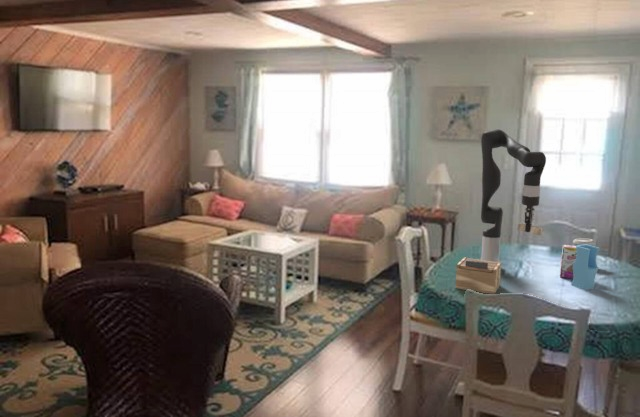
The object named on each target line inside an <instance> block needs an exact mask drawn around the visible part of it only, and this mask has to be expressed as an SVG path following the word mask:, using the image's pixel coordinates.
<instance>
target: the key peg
mask: <svg viewBox="0 0 640 417" xmlns="http://www.w3.org/2000/svg"><path fill="white" fill-rule="evenodd" d="M525 226H526V224H525V223H523V222H519V223H518V226H517V230H518V231H521V232H523V233H529V234H533V235H536V236H540V237H541V235H542V234H543V229H544V228H542V227H539V226H535V225H532V226H531V228H530V232H526V231H525Z"/></svg>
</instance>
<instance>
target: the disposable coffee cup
mask: <svg viewBox="0 0 640 417" xmlns="http://www.w3.org/2000/svg"><path fill="white" fill-rule="evenodd" d="M583 244H586V245H591V246H595V243H594V239H592V238H574V239H573V240H572V246H577V245H583Z"/></svg>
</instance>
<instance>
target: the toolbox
mask: <svg viewBox="0 0 640 417" xmlns="http://www.w3.org/2000/svg"><path fill="white" fill-rule="evenodd" d="M467 258H468V257H465V256H463V257H462V259H461V260H460V261H458V263H457V264H456V272H455V273H456V275H455V289H458V290H465V291H468V290H467V289H471V290H474V291H473V292H476V291H477V293H484V294H491V295H495V294H496V293H497V291H498V290H499V288H500V286H501V276H502V264H503V262H502V261H499V263H498V264H497V265H496V266H495V268H494V269H493V272H485V271H478V270H471V269H464V268H460V265H461V264H462V263H463V262H464V261H465V260H466V259H467Z"/></svg>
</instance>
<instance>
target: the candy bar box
mask: <svg viewBox="0 0 640 417" xmlns="http://www.w3.org/2000/svg"><path fill="white" fill-rule="evenodd" d="M561 249H562V250H561V258H560V260H561V261H560V268H559V269H560V270H559V277H560V278H563V279H564V278H565V279H572V280H573V264H574V262H575V260H576V257H577V249H576V246H573V245H568V244H562V248H561Z"/></svg>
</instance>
